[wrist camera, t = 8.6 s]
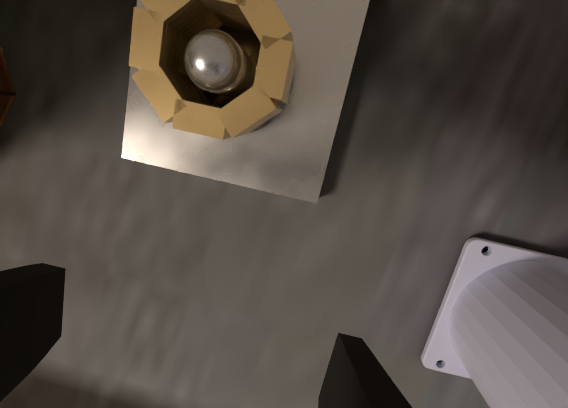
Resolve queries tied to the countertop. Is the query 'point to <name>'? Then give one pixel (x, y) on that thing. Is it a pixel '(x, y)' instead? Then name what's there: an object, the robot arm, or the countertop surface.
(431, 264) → the countertop surface
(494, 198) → the countertop surface
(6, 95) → the mug
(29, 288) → the robot arm
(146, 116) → the piston stand
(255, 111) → the brass ring
